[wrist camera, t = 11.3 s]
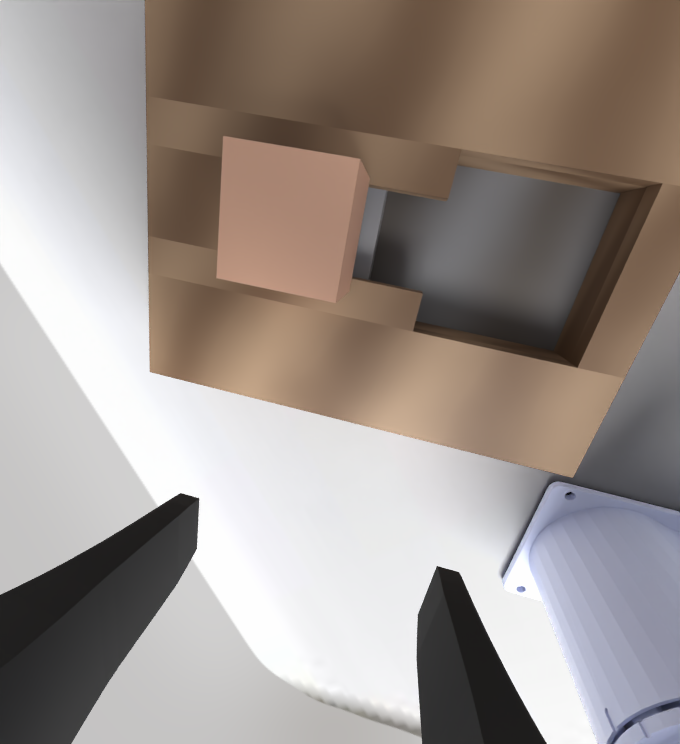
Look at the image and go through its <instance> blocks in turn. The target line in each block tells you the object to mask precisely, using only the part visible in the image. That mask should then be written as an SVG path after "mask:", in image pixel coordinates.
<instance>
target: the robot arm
mask: <svg viewBox="0 0 680 744" xmlns="http://www.w3.org/2000/svg"><path fill="white" fill-rule="evenodd" d="M568 492H572V493H571V494H570V495H565V494H566V493H568ZM198 513H199V498H195V497H192V496H188V495H185V494H181V493H180V494H178V495H177V496H175V497H173V498H172V499H170V500H169V501H167V502H165V503H164V504H162V505H161V506H159V507H158V508H156V509H154V510H153V511H151V512H150V513H148V514H146V515H145V516H143V517H142V518H140V519H138V520H137V521H135V522H134V523H132V524H130V525H129V526H127V527H125V528H124V529H123V530H121V531H119V532H117V533H116V534H114V535H112V536H111V537H109V538H107V539H106V540H104V541H103V542H101V543H99V544H97V545H96V546H94V547H92V548H90V549H88V550H86V551H85V552H83V553H81V554H79V555H77V556H76V557H74V558H72V559H70V560H69V561H67V562H65V563H63V564H61V565H59V566H57V567H56V568H54V569H52V570H50V571H48V572H46V573H44V574H42V575H40V576H38V577H36V578H34V579H32V580H30V581H28V582H26V583H24V584H22V585H20V586H18V587H16V588H14V589H12V590H10V591H8V592H5V593H3V594H1V595H0V744H71V743H72V741H73V740H74V738H75V736H76V735H77V733H78V731H79V730H80V728H81V726H82V725H83V723H84V721H85V720H86V718H87V716H88V715H89V713H90V711H91V710H92V708H93V706H94V705H95V703H96V701H97V700H98V698H99V696H100V695H101V693H102V691H103V690H104V688H105V687H106V685H107V683H108V682H109V680H110V679H111V677H112V676H113V674H114V673H115V671H116V670H117V668H118V667H119V665H120V664H121V662H122V661H123V660H124V658H125V657H126V656H127V654H128V653H129V651H130V650H131V648H132V647H133V646H134V644H135V642H136V641H137V640H138V638H139V637H140V636H141V634H142V633H143V632H144V630H145V629H146V627H147V626H148V624H149V623H150V622H151V620H152V619H153V617H154V616H155V615H156V613H157V612H158V610H159V609H160V608H161V606H162V605H163V603H164V602H165V600H166V599H167V598H168V596H169V595H170V593H171V592H172V590H173V589H174V588H175V586H176V584H177V583H178V581H179V580H180V578H181V576H182V574H183V573H184V571H185V569H186V567H187V566H188V564H189V562H190V560H191V558H192V557H193V555H194V553H195V551H196V549H197V533H198ZM502 583H503V586H504V589H505V590H506V591H509V592H512V593H515V594H519V595H522V596H526V597H529V598H533V599H536V600H540V601H543V604H544V607H545V609H546V612H547V614H548V617H549V619H550V622H551V625H552V627H553V630H554V632H555V635H556V637H557V640H558V643H559V645H560V648H561V650H562V653H563V655H564V658H565V661H566V663H567V666H568V668H569V671H570V673H571V676H572V679H573V681H574V684H575V686H576V689H577V691H578V694H579V697H580V699H581V702H582V704H583V707H584V709H585V712H586V715H587V717H588V720H589V722H590V725H591V727H592V730H593V733H594V735H595V738H596V740H597V743H598V744H680V512H679V511H675V510H671V509H667V508H663V507H659V506H655V505H651V504H647V503H643V502H639V501H635V500H632V499H628V498H624V497H620V496H616V495H612V494H608V493H604V492H600V491H596V490H592V489H588V488H584V487H580V486H576V485H572V484H568V483H564V482H558V481H557V482H553V483H551V484H550V485H549V486H548V488H547V490H546V492H545V494H544V496H543V498H542V500H541V502H540V504H539V506H538V508H537V510H536V512H535V514H534V516H533V518H532V520H531V523H530V525H529V527H528V529H527V531H526V533H525V535H524V537H523V539H522V541H521V543H520V545H519V547H518V549H517V551H516V553H515V555H514V557H513V559H512V561H511V563H510V565H509V567H508V569H507V571H506V573H505V575H504V577H503V579H502ZM519 586H520V587H519ZM417 672H418V688H419V703H420V717H421V732H422V744H547V743H546V742H545V740H544V738H543V737H542V735H541V733H540V731H539V730H538V728H537V726H536V725H535V723H534V721H533V719H532V718H531V716H530V714H529V712H528V710H527V709H526V707H525V705H524V703H523V701H522V700H521V698H520V696H519V694H518V692H517V691H516V689H515V687H514V685H513V683H512V681H511V679H510V677H509V675H508V674H507V672H506V670H505V668H504V666H503V664H502V662H501V660H500V658H499V656H498V654H497V652H496V650H495V648H494V646H493V644H492V642H491V640H490V638H489V636H488V634H487V632H486V630H485V628H484V625H483V623H482V621H481V619H480V617H479V615H478V613H477V610H476V608H475V606H474V604H473V602H472V599H471V597H470V595H469V593H468V590H467V588H466V586H465V584H464V581H463V579H462V577H461V575H460V573H459V572H456V571H453V570H449V569H445V568H442V567H438V566H437V567H436V570H435V573H434V575H433V578H432V580H431V583H430V585H429V588H428V590H427V593H426V596H425V598H424V601H423V603H422V606H421V608H420V611H419V614H418V627H417Z"/></svg>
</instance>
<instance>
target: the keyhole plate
mask: <svg viewBox="0 0 680 744" xmlns="http://www.w3.org/2000/svg"><path fill="white" fill-rule="evenodd" d="M145 51H146V124H147V198H148V272H149V346H150V372H152V373H156V374H160V375H164V376H168V377H172V378H176V379H180V380H184V381H188V382H192V383H196V384H200V385H204V386H208V387H212V388H216V389H220V390H224V391H228V392H232V393H236V394H240V395H244V396H248V397H252V398H256V399H260V400H264V401H268V402H272V403H276V404H280V405H284V406H288V407H292V408H296V409H300V410H304V411H308V412H312V413H316V414H320V415H324V416H328V417H332V418H336V419H340V420H344V421H348V422H352V423H355V424H359V425H363V426H367V427H371V428H375V429H379V430H383V431H387V432H391V433H395V434H399V435H403V436H407V437H411V438H415V439H419V440H423V441H427V442H431V443H435V444H439V445H443V446H447V447H451V448H455V449H459V450H463V451H467V452H471V453H475V454H479V455H483V456H487V457H491V458H495V459H499V460H503V461H507V462H511V463H515V464H519V465H523V466H527V467H531V468H535V469H539V470H543V471H547V472H551V473H555V474H559V475H563V476H567V477H571V478H573V477H574V475H575V473H576V471H577V469H578V467H579V465H580V463H581V461H582V460H583V458H584V456H585V454H586V452H587V450H588V448H589V446H590V444H591V442H592V440H593V438H594V436H595V434H596V433H597V431H598V429H599V427H600V425H601V423H602V421H603V419H604V417H605V415H606V413H607V411H608V409H609V408H610V406H611V404H612V402H613V400H614V398H615V396H616V394H617V392H618V390H619V388H620V386H621V384H622V382H623V381H624V379H625V377H626V375H627V373H628V371H629V369H630V367H631V365H632V363H633V361H634V359H635V357H636V356H637V354H638V352H639V350H640V348H641V346H642V344H643V342H644V340H645V338H646V336H647V334H648V332H649V330H650V329H651V327H652V325H653V323H654V321H655V319H656V317H657V315H658V313H659V311H660V309H661V307H662V305H663V304H664V302H665V300H666V298H667V296H668V294H669V292H670V290H671V288H672V286H673V284H674V282H675V280H676V278H677V277H678V275H679V273H680V0H145ZM223 136H227V137H233V138H239V139H245V140H251V141H257V142H263V143H269V144H275V145H281V146H287V147H293V148H299V149H305V150H311V151H317V152H323V153H329V154H335V155H341V156H347V157H353V158H359V159H361V161H362V163H363V165H364V167H365V169H366V171H367V173H368V175H369V177H370V182H369V187H370V188H375V189H381V190H386V191H388V193H387V198H386V203H385V208H384V213H383V218H382V223H381V227H380V232H379V237H378V242H377V247H376V252H375V257H374V262H373V267H372V272H371V277H370V280H366V279H361V278H357V277H352V280H351V285H350V291H349V292H348V293H347V294H346V295H345V296H344V297H342V298H341V299H340V300H339V301H337V302H336V303H333V302H328V301H323V300H318V299H314V298H309V297H304V296H299V295H294V294H290V293H285V292H280V291H275V290H271V289H266V288H261V287H256V286H252V285H247V284H242V283H237V282H233V281H228V280H223V279H218V278H216V276H217V255H218V234H219V213H220V192H221V171H222V150H223Z"/></svg>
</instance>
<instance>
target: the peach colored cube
mask: <svg viewBox="0 0 680 744" xmlns="http://www.w3.org/2000/svg"><path fill="white" fill-rule="evenodd" d="M369 182H370V177H369V175H368V173H367V171H366V169H365V167H364V165H363V163H362V161H361V159H359V158H353V157H347V156H341V155H335V154H329V153H323V152H317V151H311V150H305V149H299V148H293V147H287V146H281V145H275V144H269V143H263V142H257V141H251V140H245V139H239V138H233V137H227V136H223V150H222V171H221V192H220V213H219V234H218V255H217V276H216V278H218V279H223V280H228V281H233V282H237V283H242V284H247V285H252V286H256V287H261V288H266V289H271V290H275V291H280V292H285V293H290V294H294V295H299V296H304V297H309V298H314V299H318V300H323V301H328V302H333V303H336V302H337V301H339V300H340V299H341V298H342V297H344V296H345V295H346V294H347V293H348V292H349V291H350V285H351V280H352V277H357V278H361V279H366V280H370V277H371V272H372V267H373V262H374V257H375V252H376V247H377V242H378V237H379V232H380V227H381V223H382V218H383V213H384V208H385V203H386V198H387V193H388V191H386V190H381V189H375V188H370V187H369Z"/></svg>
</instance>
